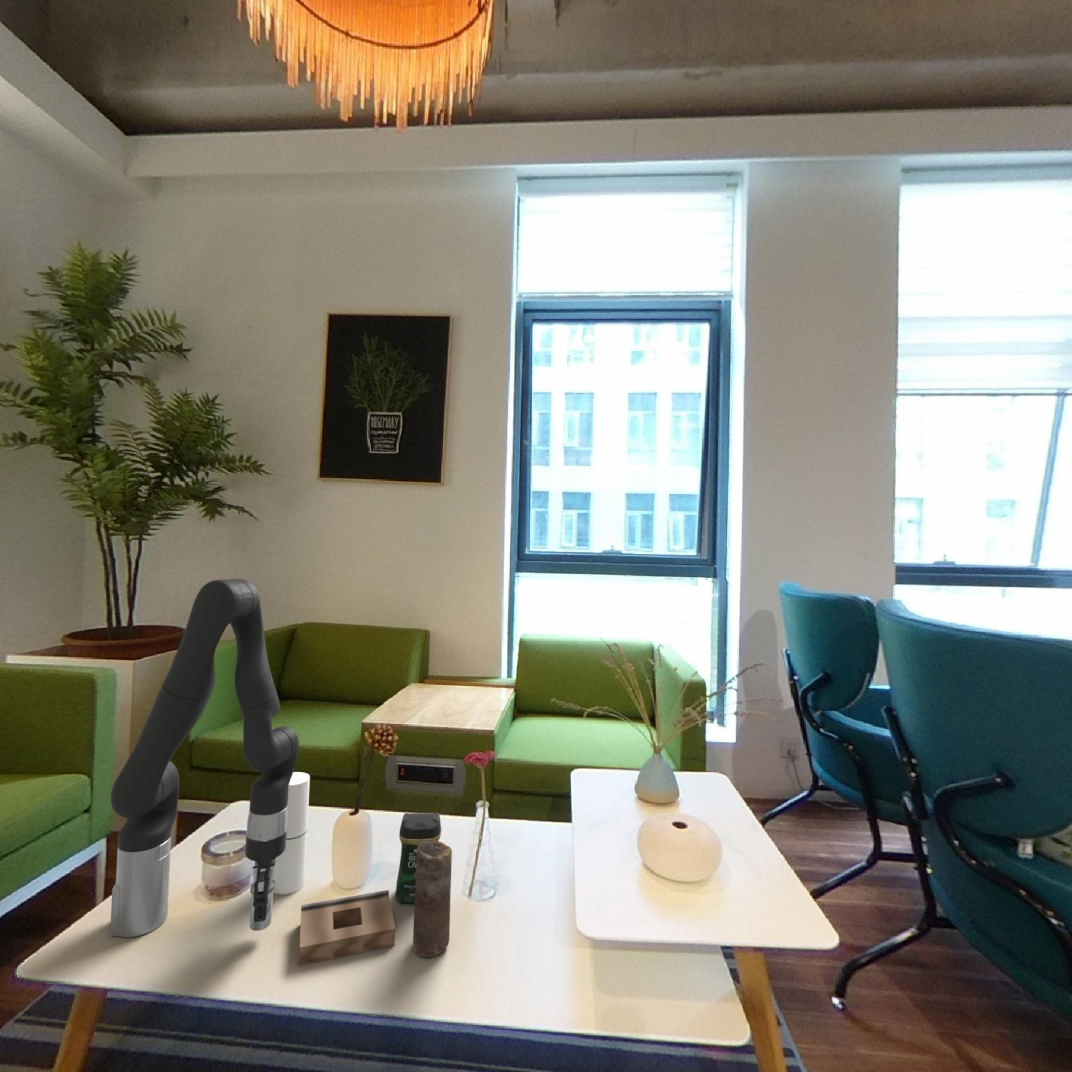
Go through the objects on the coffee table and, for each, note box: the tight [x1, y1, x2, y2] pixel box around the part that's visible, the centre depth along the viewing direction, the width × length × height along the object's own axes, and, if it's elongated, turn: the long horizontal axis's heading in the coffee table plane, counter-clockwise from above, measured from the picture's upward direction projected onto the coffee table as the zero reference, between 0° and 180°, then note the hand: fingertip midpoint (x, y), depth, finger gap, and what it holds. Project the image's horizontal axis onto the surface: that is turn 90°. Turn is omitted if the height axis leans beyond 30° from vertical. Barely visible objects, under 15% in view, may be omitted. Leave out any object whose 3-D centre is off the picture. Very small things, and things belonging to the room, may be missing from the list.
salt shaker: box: [248, 879, 275, 932], centre depth 116 cm, size 5×5×8 cm
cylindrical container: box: [272, 771, 311, 896], centre depth 133 cm, size 7×7×25 cm
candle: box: [412, 841, 453, 958], centre depth 116 cm, size 8×7×20 cm
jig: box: [298, 889, 396, 967], centre depth 118 cm, size 18×12×4 cm, turn 111°
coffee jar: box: [395, 812, 442, 904], centre depth 132 cm, size 10×8×19 cm
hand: (261, 912), depth 116 cm, fingers closed on salt shaker, 4 cm apart
